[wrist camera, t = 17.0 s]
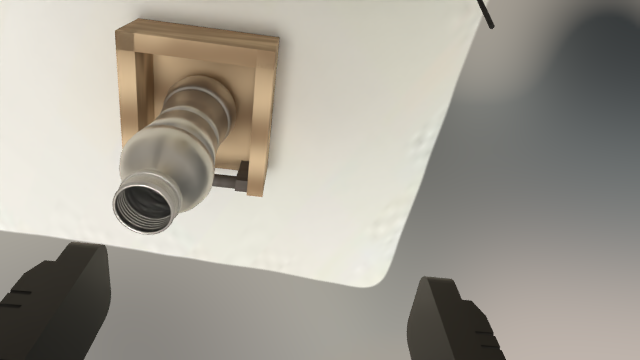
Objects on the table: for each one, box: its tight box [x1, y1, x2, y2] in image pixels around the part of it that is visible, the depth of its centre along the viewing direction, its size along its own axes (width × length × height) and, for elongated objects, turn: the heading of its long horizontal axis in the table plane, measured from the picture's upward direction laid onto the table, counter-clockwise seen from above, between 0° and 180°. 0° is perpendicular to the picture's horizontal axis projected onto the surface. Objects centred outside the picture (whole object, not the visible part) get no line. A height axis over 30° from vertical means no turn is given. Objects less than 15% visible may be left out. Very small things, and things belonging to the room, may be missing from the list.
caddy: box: [115, 18, 279, 197], centre depth 44 cm, size 14×13×6 cm
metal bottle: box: [113, 75, 236, 235], centre depth 37 cm, size 6×7×20 cm
